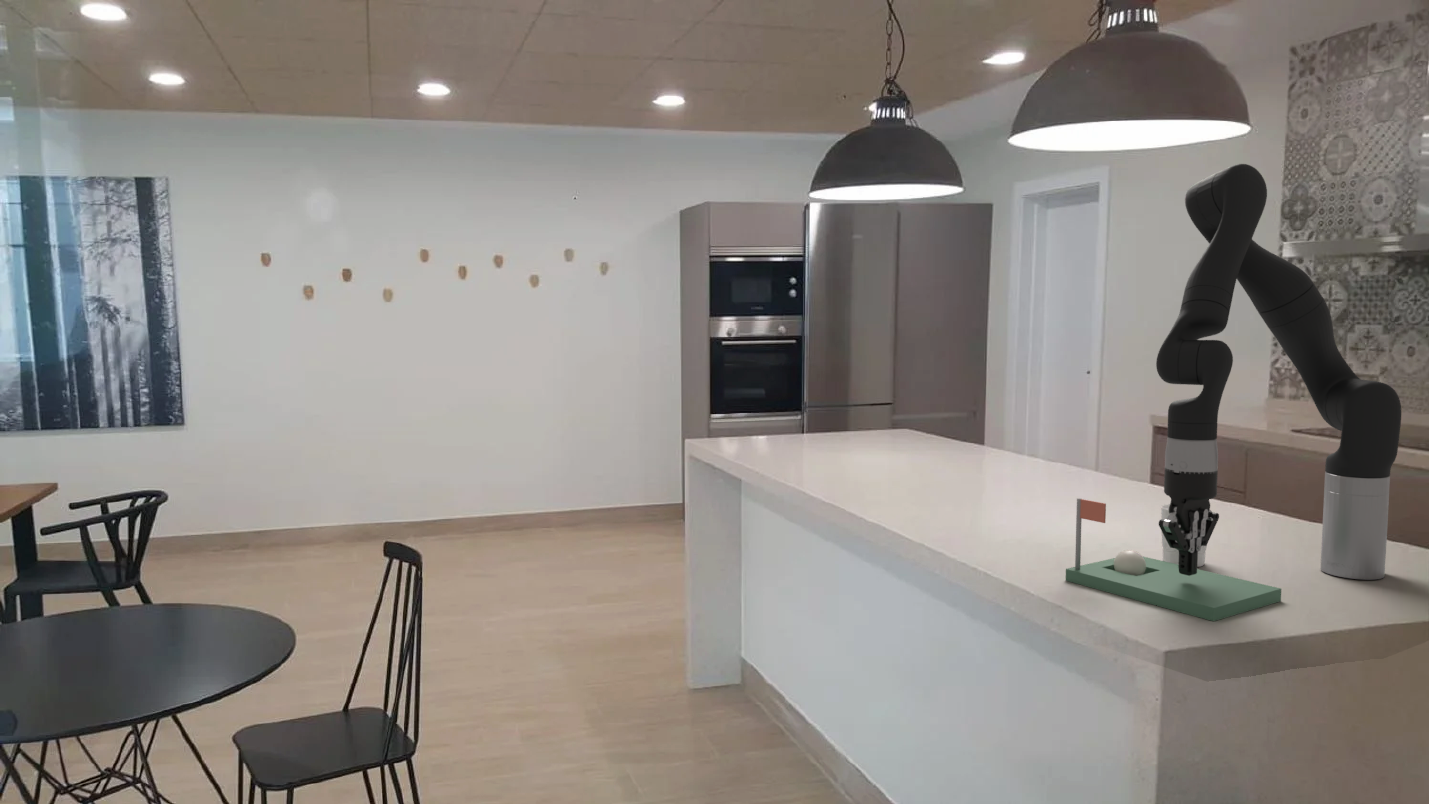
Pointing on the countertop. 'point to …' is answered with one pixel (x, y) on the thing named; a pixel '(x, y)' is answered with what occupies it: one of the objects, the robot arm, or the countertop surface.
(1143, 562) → the ball
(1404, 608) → the countertop surface
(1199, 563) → the white cup
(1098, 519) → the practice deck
